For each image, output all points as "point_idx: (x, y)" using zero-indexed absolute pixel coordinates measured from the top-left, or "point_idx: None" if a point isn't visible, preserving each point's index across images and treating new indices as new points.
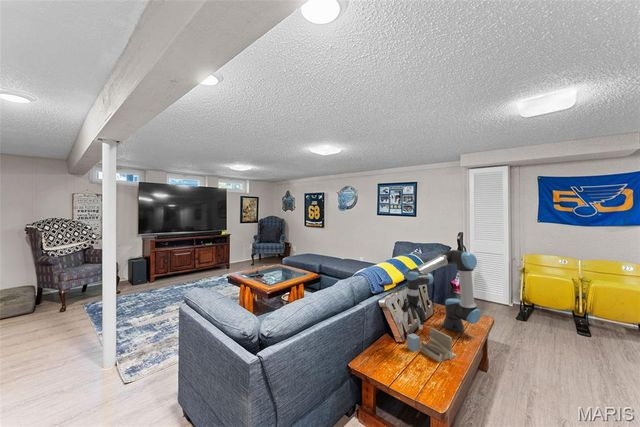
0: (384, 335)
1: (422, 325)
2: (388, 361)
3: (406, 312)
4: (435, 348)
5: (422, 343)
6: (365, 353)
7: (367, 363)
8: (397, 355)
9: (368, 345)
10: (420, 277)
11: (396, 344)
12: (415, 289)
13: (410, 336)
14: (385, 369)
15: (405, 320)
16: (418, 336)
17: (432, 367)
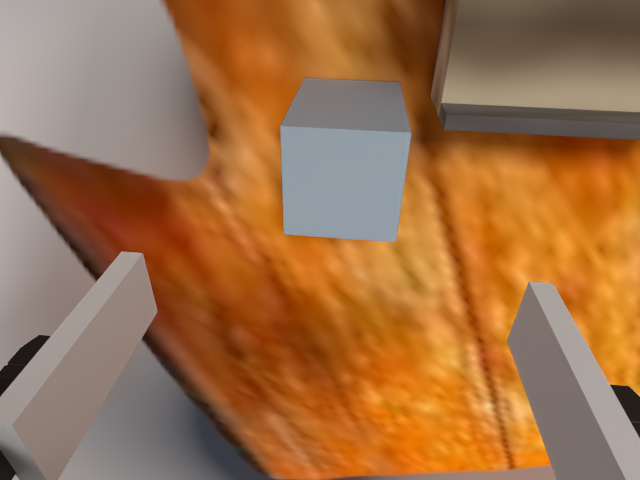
0: (32, 175)
1: (579, 340)
2: (368, 373)
3: (33, 448)
4: (602, 7)
5: (460, 130)
6: (235, 407)
7: (322, 443)
8: (348, 297)
9: (158, 353)
10: None
11: (212, 197)
12: None
13: (329, 226)
14: (415, 421)
15: (146, 314)
16: (386, 138)
17: (633, 212)
